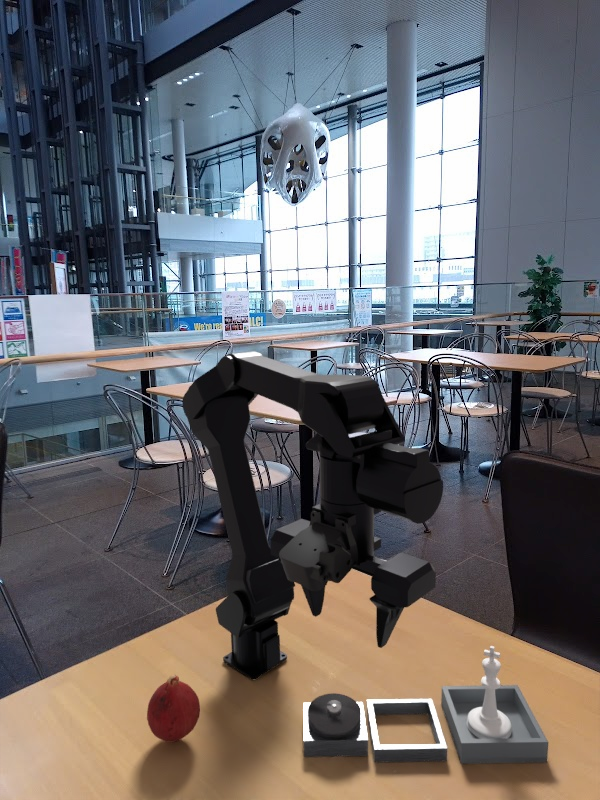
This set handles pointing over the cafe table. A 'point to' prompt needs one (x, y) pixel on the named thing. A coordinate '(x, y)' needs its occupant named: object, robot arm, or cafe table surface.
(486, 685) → the chess piece
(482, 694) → the tray
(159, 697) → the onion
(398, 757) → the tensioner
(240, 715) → the cafe table surface
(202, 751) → the cafe table surface
